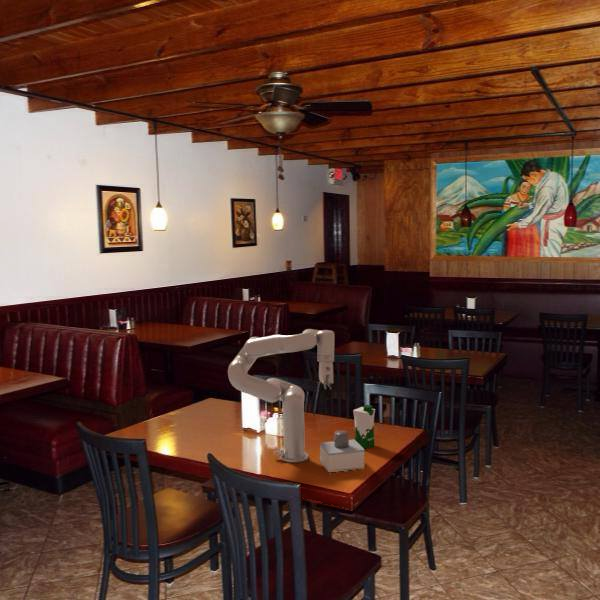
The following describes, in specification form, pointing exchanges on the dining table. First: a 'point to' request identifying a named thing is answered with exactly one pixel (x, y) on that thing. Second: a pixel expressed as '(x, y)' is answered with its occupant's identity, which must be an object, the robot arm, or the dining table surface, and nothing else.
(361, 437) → the milk carton
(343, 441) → the gray cube
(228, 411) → the dining table surface
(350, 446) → the lid
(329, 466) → the box
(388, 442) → the dining table surface
